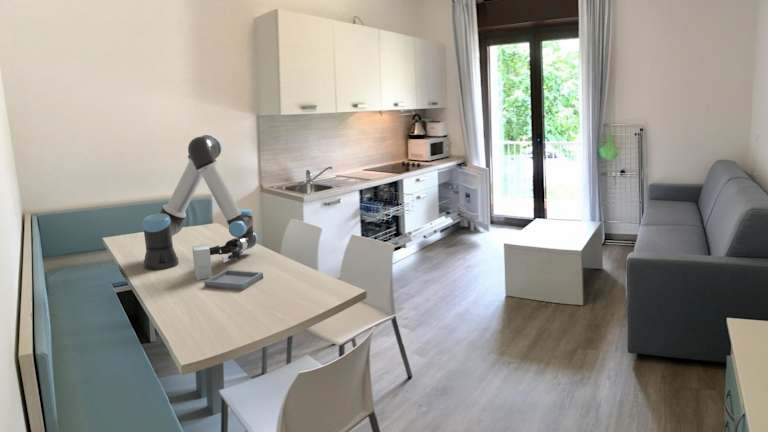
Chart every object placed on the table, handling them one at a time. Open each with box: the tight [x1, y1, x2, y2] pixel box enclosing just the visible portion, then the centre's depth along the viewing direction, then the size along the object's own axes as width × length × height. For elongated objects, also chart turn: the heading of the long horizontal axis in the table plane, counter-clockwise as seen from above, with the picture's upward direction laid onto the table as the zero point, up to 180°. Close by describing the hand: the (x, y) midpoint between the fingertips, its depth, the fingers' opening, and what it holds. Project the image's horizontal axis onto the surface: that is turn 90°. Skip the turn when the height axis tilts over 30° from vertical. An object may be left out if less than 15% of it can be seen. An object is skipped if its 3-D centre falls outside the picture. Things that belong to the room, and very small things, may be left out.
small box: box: [192, 244, 213, 281], centre depth 240 cm, size 8×6×13 cm
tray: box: [204, 269, 264, 291], centre depth 232 cm, size 18×16×2 cm
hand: (209, 258), depth 244 cm, fingers open, 13 cm apart
